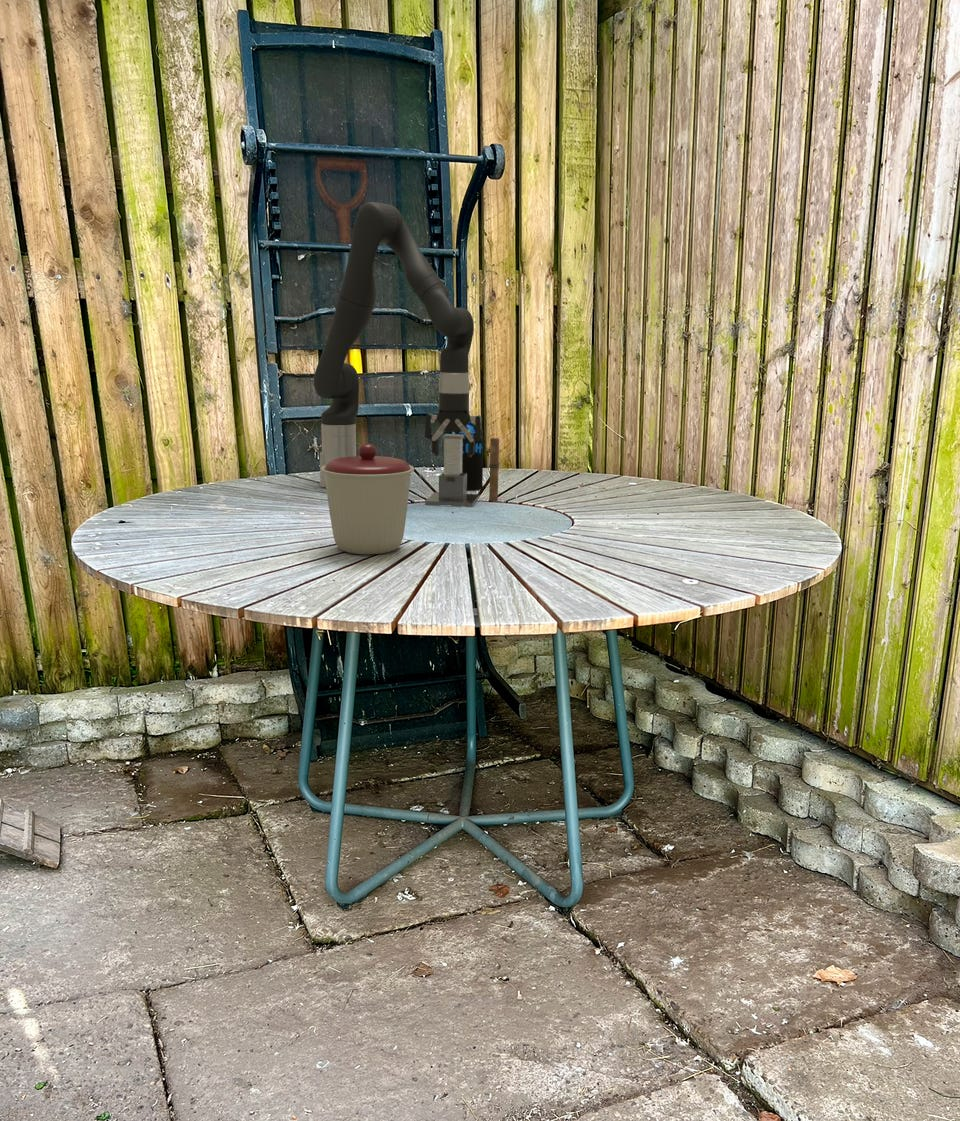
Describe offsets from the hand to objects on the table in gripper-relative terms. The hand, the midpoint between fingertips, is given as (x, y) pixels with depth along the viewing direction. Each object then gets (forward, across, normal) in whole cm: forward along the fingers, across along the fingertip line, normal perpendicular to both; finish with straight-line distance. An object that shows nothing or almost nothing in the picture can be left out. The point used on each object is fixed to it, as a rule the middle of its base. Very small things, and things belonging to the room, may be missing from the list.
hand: (453, 456), depth 226 cm
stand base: (+12, 0, 0) cm, 12 cm away
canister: (+12, -8, -53) cm, 55 cm away
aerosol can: (+12, +1, +20) cm, 23 cm away
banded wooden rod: (+12, +10, +4) cm, 16 cm away
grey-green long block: (+10, 0, 0) cm, 10 cm away
